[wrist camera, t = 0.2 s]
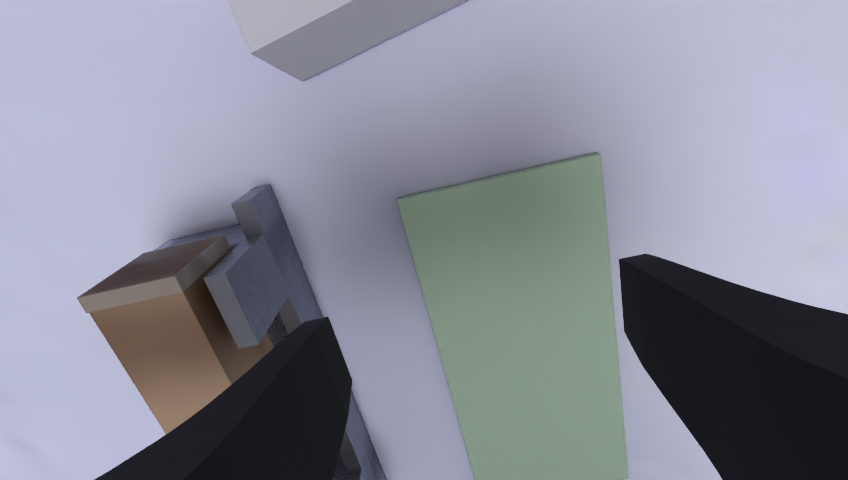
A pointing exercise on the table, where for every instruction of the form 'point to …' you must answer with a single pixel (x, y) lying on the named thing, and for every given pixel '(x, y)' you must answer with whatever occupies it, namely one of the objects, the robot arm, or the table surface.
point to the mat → (525, 319)
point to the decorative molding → (325, 28)
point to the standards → (274, 301)
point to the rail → (171, 329)
